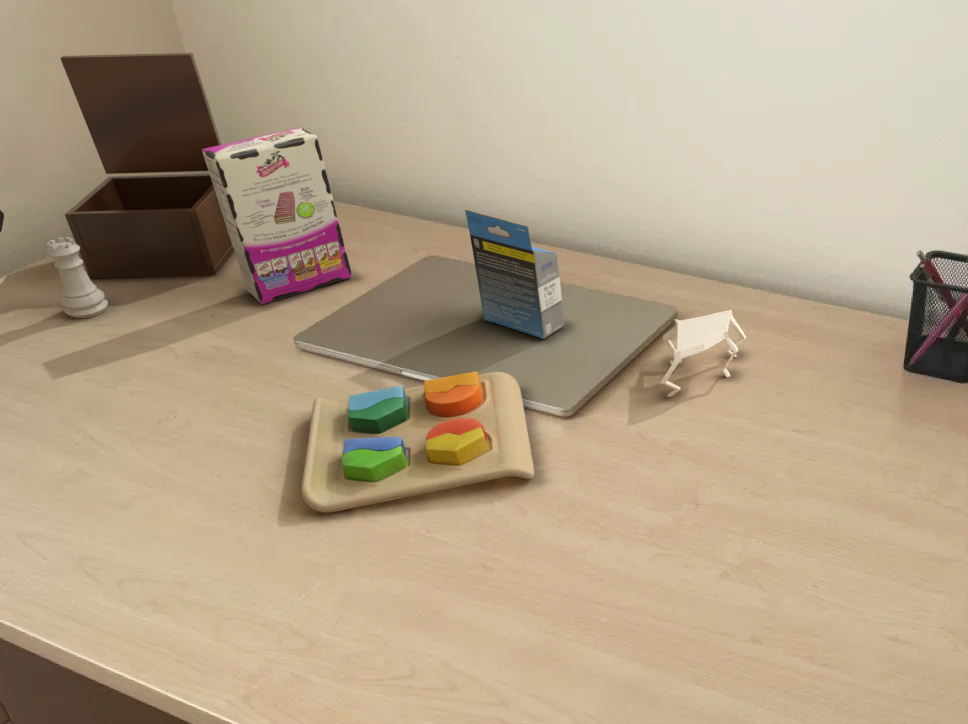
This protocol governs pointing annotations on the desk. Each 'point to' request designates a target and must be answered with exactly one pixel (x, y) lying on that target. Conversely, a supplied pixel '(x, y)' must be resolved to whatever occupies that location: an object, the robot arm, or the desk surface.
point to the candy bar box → (279, 213)
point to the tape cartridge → (515, 278)
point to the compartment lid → (144, 110)
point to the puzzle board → (415, 441)
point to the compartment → (151, 227)
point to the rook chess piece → (75, 281)
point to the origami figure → (700, 339)
